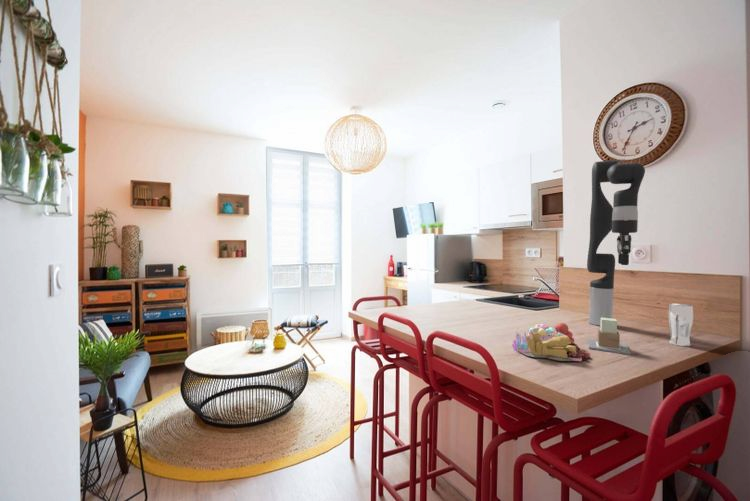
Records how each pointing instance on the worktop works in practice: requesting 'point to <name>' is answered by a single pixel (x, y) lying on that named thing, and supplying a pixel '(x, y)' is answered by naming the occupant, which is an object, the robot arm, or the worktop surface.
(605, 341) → the walnut block
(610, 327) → the sage cube
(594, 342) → the pad
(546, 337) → the candy landscape model
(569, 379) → the worktop surface
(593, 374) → the worktop surface
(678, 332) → the beer glass
